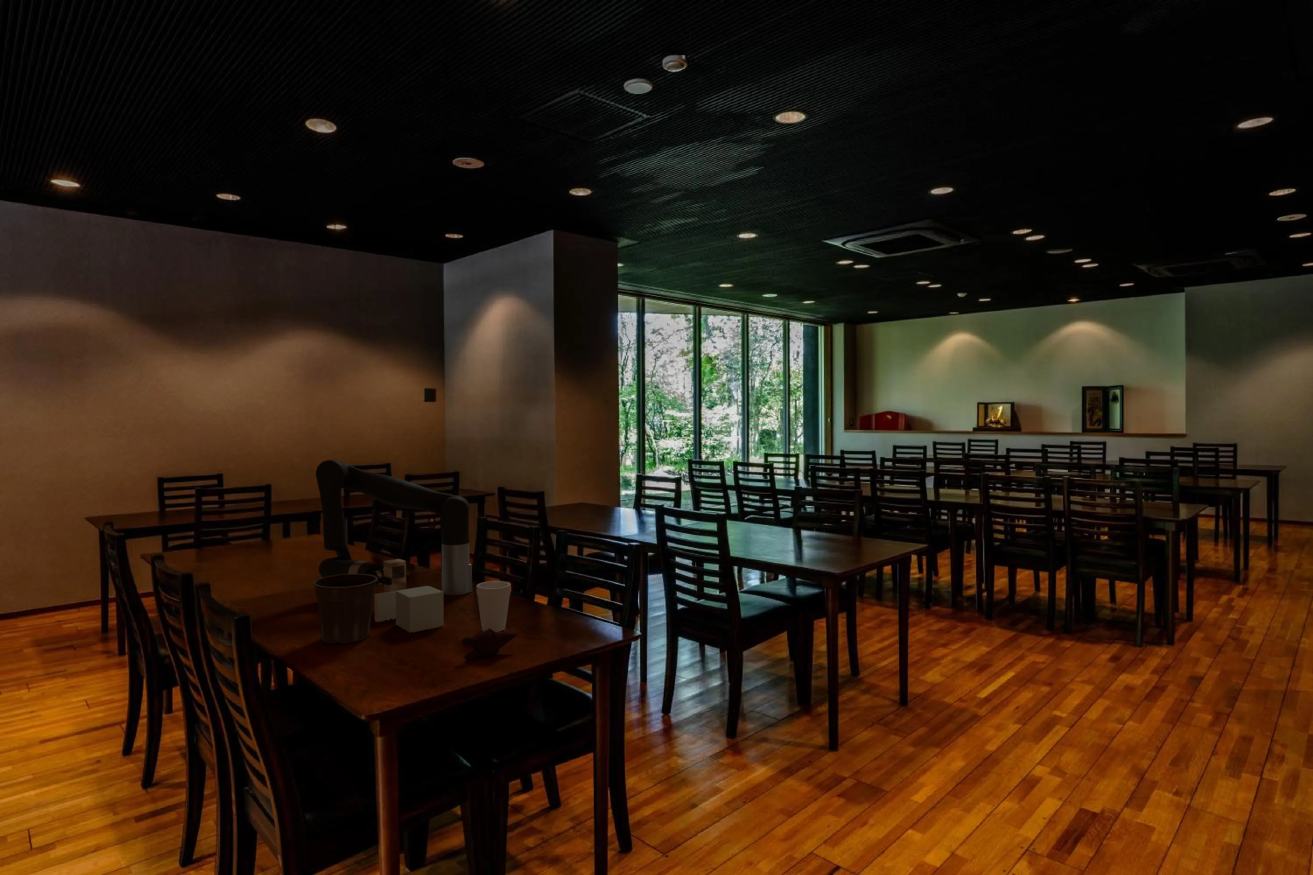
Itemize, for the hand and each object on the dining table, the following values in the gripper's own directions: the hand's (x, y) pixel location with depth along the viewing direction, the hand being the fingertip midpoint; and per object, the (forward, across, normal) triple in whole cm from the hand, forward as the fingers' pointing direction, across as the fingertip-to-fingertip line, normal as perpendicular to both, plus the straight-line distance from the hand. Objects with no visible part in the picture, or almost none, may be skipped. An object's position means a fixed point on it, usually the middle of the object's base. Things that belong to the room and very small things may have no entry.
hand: (399, 579), depth 221 cm
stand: (+16, -5, +11) cm, 20 cm away
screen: (+4, -2, +10) cm, 11 cm away
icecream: (+52, -12, +11) cm, 54 cm away
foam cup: (+37, +4, +11) cm, 38 cm away
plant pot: (+9, -24, +10) cm, 28 cm away
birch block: (-2, 0, +7) cm, 7 cm away
